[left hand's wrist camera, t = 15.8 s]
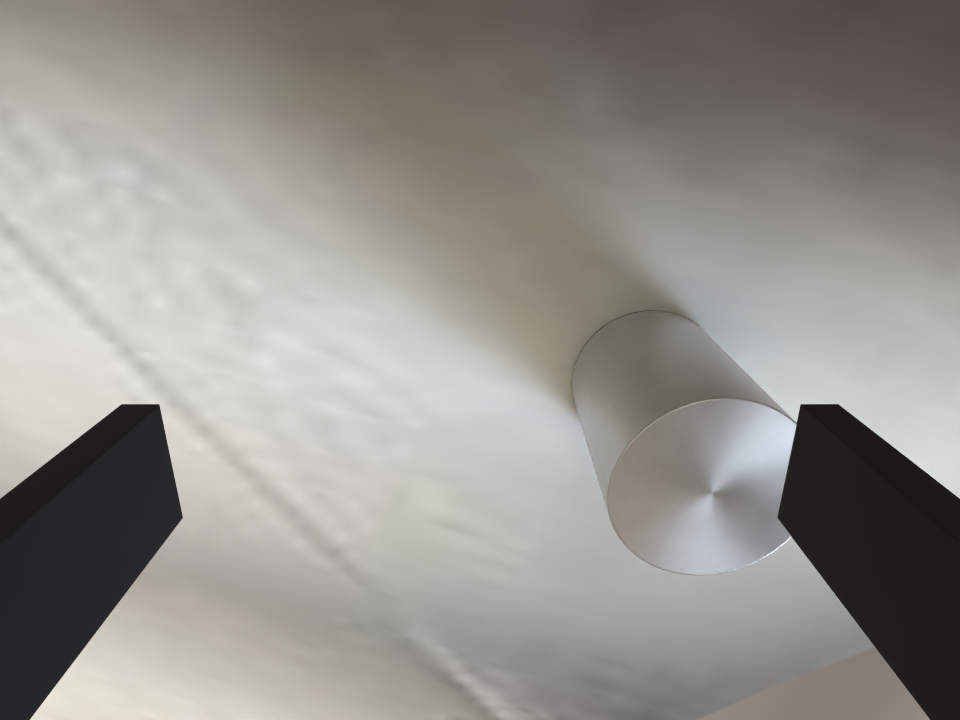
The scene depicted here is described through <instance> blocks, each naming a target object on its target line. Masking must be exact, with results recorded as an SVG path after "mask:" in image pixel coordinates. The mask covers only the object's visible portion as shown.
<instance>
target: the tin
mask: <svg viewBox="0 0 960 720" xmlns="http://www.w3.org/2000/svg"><path fill="white" fill-rule="evenodd" d="M572 394H573V400H574V403H575V406H576V409H577V413H578V416H579V419H580V422H581V426H582V429H583V432H584V435H585V439H586V442H587V445H588V448H589V452H590V455H591V458H592V461H593V465H594V468H595V471H596V474H597V478H598V481H599V484H600V488H601V491H602V494H603V497H604V501H605V504H606V507H607V510H608V514H609V517H610V520H611V522H612V525H613V528H614V529H615V531H616V533H617V535H618V537H619V538H620V539H621V541H622V542H623V543H624V545H625V546H626V547H627V548H628V549H629V550H631V551H632V552H633V553H634V554H635V555H637V556H638V557H639V558H641V559H642V560H644V561H645V562H647V563H649V564H651V565H653V566H655V567H658V568H660V569H663V570H666V571H670V572H674V573H680V574H686V575H711V574H719V573H725V572H729V571H733V570H736V569H740V568H743V567H745V566H748V565H750V564H753V563H755V562H757V561H759V560H761V559H763V558H764V557H766V556H768V555H769V554H771V553H772V552H774V551H775V550H777V549H778V548H779V547H780V546H782V545H783V544H784V543H785V542H786V541H787V540H788V539H789V538H790V537H791V535H790V534H789V533H788V531H787V530H786V529H785V527H784V526H783V525H782V523H781V522H780V521H779V519H778V518H777V516H778V512H779V507H780V502H781V497H782V492H783V488H784V483H785V478H786V473H787V468H788V464H789V459H790V454H791V449H792V444H793V440H794V435H795V430H796V425H797V423H796V422H795V421H794V420H793V419H792V418H791V417H790V416H789V415H788V414H787V413H786V412H785V411H784V410H783V409H782V408H781V407H780V406H779V405H778V404H777V403H776V402H775V401H774V400H773V399H772V398H771V397H770V396H769V395H768V394H767V393H766V392H765V391H764V390H763V389H762V388H761V387H760V386H759V385H758V384H757V383H756V382H755V381H754V380H753V379H752V378H751V377H750V376H749V375H748V374H747V373H746V372H745V371H744V370H743V369H742V368H741V367H740V366H739V365H738V364H737V363H736V362H735V361H734V360H733V359H732V358H731V357H730V356H729V355H728V354H727V353H726V352H725V351H724V350H723V349H722V348H721V347H720V346H719V345H717V344H716V343H715V342H714V341H713V340H712V339H711V338H710V337H709V336H708V335H707V334H706V333H705V332H704V331H703V330H702V329H701V328H700V327H699V326H698V325H696V324H695V323H693V322H692V321H690V320H689V319H687V318H685V317H682V316H680V315H677V314H674V313H670V312H664V311H641V312H637V313H632V314H629V315H626V316H623V317H620V318H618V319H616V320H614V321H612V322H610V323H609V324H607V325H605V326H604V327H603V328H601V329H600V330H599V331H598V332H596V333H595V334H594V335H593V336H592V337H591V338H590V340H589V341H588V342H587V343H586V345H585V346H584V347H583V349H582V351H581V352H580V354H579V356H578V358H577V361H576V363H575V366H574V370H573V375H572Z"/></svg>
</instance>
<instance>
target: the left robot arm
mask: <svg viewBox="0 0 960 720" xmlns="http://www.w3.org/2000/svg"><path fill="white" fill-rule="evenodd" d="M182 518H183V516H182V512H181V507H180V502H179V497H178V492H177V488H176V483H175V478H174V473H173V468H172V464H171V459H170V454H169V449H168V444H167V440H166V435H165V430H164V425H163V420H162V416H161V411H160V406H159V404H122V405H120V406H119V407H118V408H117V409H115V410H114V411H113V412H111V413H110V414H109V415H108V416H106V417H105V418H104V419H102V420H101V421H100V422H98V423H97V424H96V425H95V426H93V427H92V428H91V429H89V430H88V431H87V432H86V433H84V434H83V435H82V436H80V437H79V438H78V439H77V440H75V441H74V442H73V443H71V444H70V445H69V446H68V447H66V448H65V449H64V450H62V451H61V452H60V453H59V454H57V455H56V456H55V457H53V458H52V459H51V460H50V461H48V462H47V463H46V464H44V465H43V466H42V467H41V468H39V469H38V470H37V471H35V472H34V473H33V474H32V475H30V476H29V477H28V478H26V479H25V480H24V481H23V482H21V483H20V484H19V485H17V486H16V487H15V488H14V489H12V490H11V491H10V492H8V493H7V494H6V495H5V496H3V497H2V498H1V499H0V720H30V718H31V717H32V716H33V715H34V713H35V712H36V711H37V709H38V708H39V707H40V705H41V704H42V703H43V701H44V700H45V699H46V697H47V696H48V695H49V693H50V692H51V691H52V689H53V688H54V687H55V686H56V684H57V683H58V682H59V680H60V679H61V678H62V676H63V675H64V674H65V672H66V671H67V670H68V668H69V667H70V666H71V664H72V663H73V662H74V660H75V659H76V658H77V657H78V655H79V654H80V653H81V651H82V650H83V649H84V647H85V646H86V645H87V643H88V642H89V641H90V639H91V638H92V637H93V635H94V634H95V633H96V631H97V630H98V629H99V628H100V626H101V625H102V624H103V622H104V621H105V620H106V618H107V617H108V616H109V614H110V613H111V612H112V610H113V609H114V608H115V606H116V605H117V604H118V602H119V601H120V600H121V599H122V597H123V596H124V595H125V593H126V592H127V591H128V589H129V588H130V587H131V585H132V584H133V583H134V581H135V580H136V579H137V577H138V576H139V575H140V573H141V572H142V571H143V569H144V568H145V567H146V566H147V564H148V563H149V562H150V560H151V559H152V558H153V556H154V555H155V554H156V552H157V551H158V550H159V548H160V547H161V546H162V544H163V543H164V542H165V540H166V539H167V538H168V537H169V535H170V534H171V533H172V531H173V530H174V529H175V527H176V526H177V525H178V523H179V522H180V521H181V519H182ZM777 518H778V519H779V521H780V522H781V523H782V525H783V526H784V527H785V529H786V530H787V531H788V533H789V534H790V535H791V537H792V538H793V539H794V540H795V542H796V543H797V544H798V546H799V547H800V548H801V550H802V551H803V552H804V554H805V555H806V556H807V558H808V559H809V560H810V562H811V563H812V564H813V566H814V567H815V568H816V569H817V571H818V572H819V573H820V575H821V576H822V577H823V579H824V580H825V581H826V583H827V584H828V585H829V587H830V588H831V589H832V591H833V592H834V593H835V595H836V596H837V597H838V599H839V600H840V601H841V602H842V604H843V605H844V606H845V608H846V609H847V610H848V612H849V613H850V614H851V616H852V617H853V618H854V620H855V621H856V622H857V624H858V625H859V626H860V628H861V629H862V630H863V631H864V633H865V634H866V635H867V637H868V638H869V639H870V641H871V642H872V643H873V645H874V646H875V647H876V649H877V650H878V651H879V653H880V654H881V655H882V656H883V658H884V659H885V660H886V662H887V663H888V664H889V666H890V667H891V668H892V670H893V671H894V672H895V674H896V675H897V676H898V678H899V679H900V680H901V682H902V683H903V684H904V685H905V687H906V688H907V689H908V691H909V692H910V693H911V695H912V696H913V697H914V699H915V700H916V701H917V703H918V704H919V705H920V707H921V708H922V709H923V711H924V712H925V713H926V715H927V716H928V717H929V718H930V720H960V499H959V498H958V497H957V496H955V495H954V494H953V493H952V492H950V491H949V490H948V489H946V488H945V487H944V486H943V485H941V484H940V483H939V482H937V481H936V480H935V479H934V478H932V477H931V476H930V475H928V474H927V473H926V472H925V471H923V470H922V469H921V468H919V467H918V466H917V465H916V464H914V463H913V462H912V461H910V460H909V459H908V458H907V457H905V456H904V455H903V454H901V453H900V452H899V451H898V450H896V449H895V448H894V447H892V446H891V445H890V444H889V443H887V442H886V441H885V440H883V439H882V438H881V437H880V436H878V435H877V434H876V433H874V432H873V431H872V430H870V429H869V428H868V427H867V426H865V425H864V424H863V423H861V422H860V421H859V420H858V419H856V418H855V417H854V416H852V415H851V414H850V413H849V412H847V411H846V410H845V409H843V408H842V407H841V406H840V405H838V404H801V406H800V411H799V416H798V420H797V425H796V430H795V435H794V440H793V444H792V449H791V454H790V459H789V464H788V468H787V473H786V478H785V483H784V488H783V492H782V497H781V502H780V507H779V512H778V516H777Z"/></svg>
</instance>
